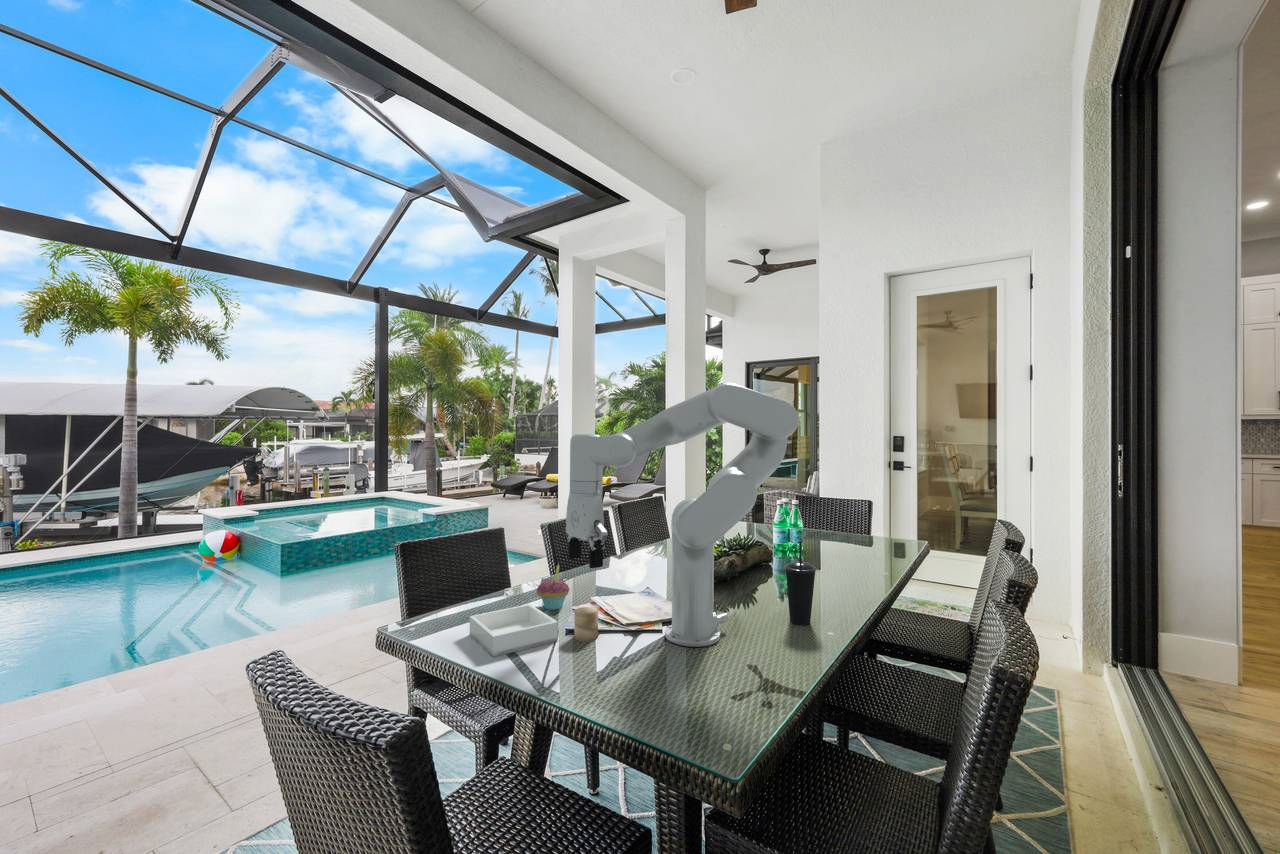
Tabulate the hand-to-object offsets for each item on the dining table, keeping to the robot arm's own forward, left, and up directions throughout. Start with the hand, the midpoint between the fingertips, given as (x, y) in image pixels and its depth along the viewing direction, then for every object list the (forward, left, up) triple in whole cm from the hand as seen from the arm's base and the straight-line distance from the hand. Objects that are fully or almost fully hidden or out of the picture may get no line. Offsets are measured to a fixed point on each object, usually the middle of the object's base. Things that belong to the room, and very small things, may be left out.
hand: (585, 562), depth 128 cm
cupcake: (-3, -23, -17) cm, 29 cm away
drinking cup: (-48, +22, -17) cm, 56 cm away
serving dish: (+14, -9, -17) cm, 24 cm away
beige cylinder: (0, 0, -17) cm, 17 cm away
